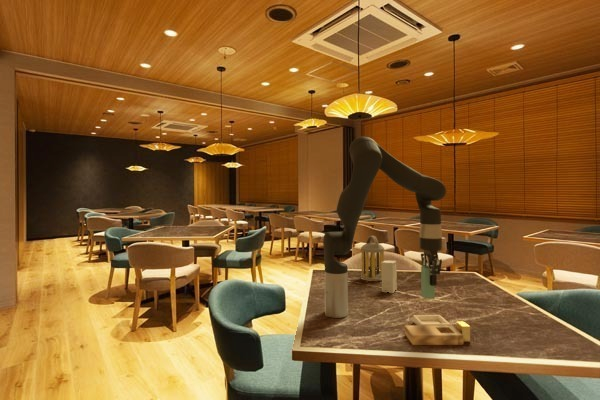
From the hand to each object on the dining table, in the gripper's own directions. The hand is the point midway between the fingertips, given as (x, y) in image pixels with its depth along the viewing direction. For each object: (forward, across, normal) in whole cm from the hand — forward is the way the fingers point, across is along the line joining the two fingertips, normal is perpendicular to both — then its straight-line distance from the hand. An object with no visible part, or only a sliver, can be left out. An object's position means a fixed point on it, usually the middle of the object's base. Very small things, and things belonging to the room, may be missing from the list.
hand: (430, 283), depth 116 cm
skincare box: (+16, +45, +3) cm, 48 cm away
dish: (+16, 0, 0) cm, 16 cm away
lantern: (+16, +69, +6) cm, 71 cm away
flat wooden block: (+16, -10, +4) cm, 19 cm away
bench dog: (+16, -10, -6) cm, 20 cm away
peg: (+5, 0, +1) cm, 5 cm away
